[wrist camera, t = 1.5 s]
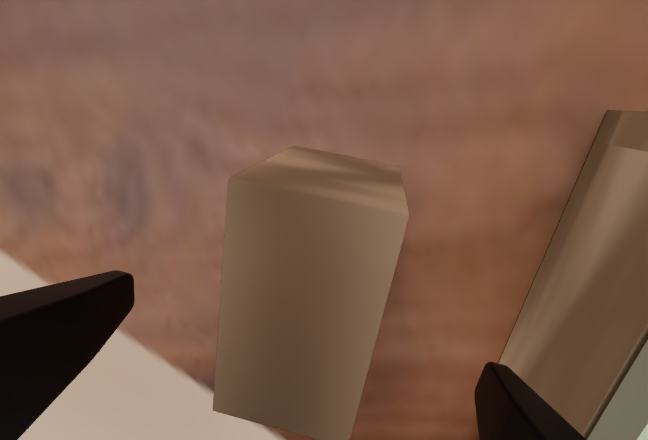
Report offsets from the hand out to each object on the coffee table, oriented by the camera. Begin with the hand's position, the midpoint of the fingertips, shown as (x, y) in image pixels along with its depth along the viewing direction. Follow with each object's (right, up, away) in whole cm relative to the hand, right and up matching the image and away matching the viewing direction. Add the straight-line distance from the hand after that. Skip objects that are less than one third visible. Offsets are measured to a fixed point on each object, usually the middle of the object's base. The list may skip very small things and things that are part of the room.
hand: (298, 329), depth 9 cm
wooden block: (+1, +2, +6) cm, 6 cm away
